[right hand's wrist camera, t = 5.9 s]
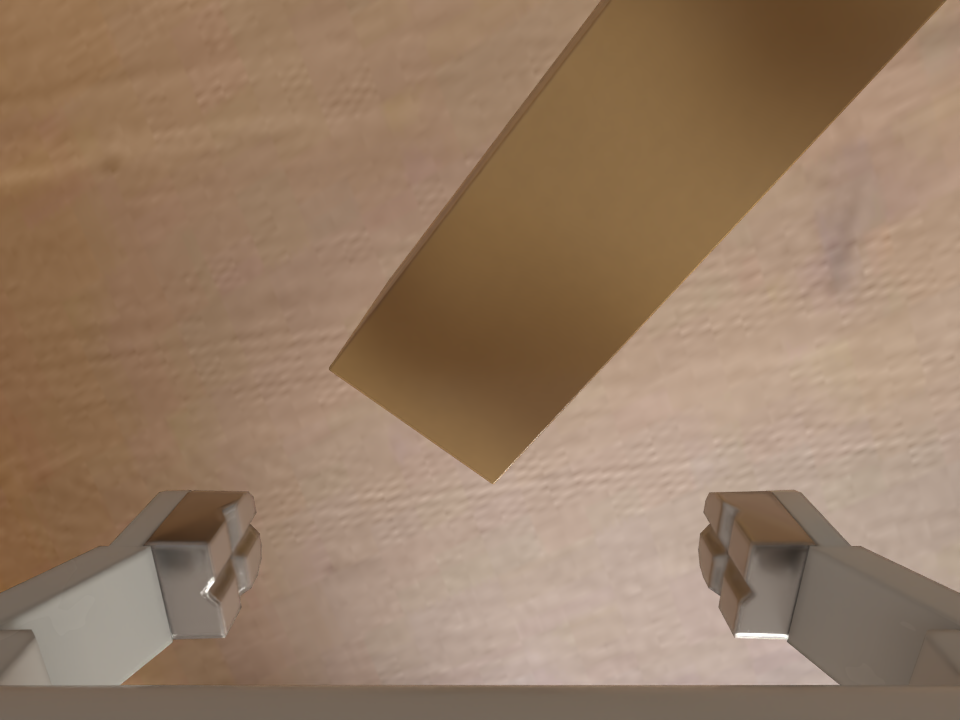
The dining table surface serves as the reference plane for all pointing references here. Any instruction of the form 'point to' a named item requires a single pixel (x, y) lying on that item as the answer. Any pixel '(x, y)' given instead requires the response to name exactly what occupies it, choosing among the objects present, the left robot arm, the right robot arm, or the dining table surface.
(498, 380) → the bar
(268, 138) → the dining table surface
